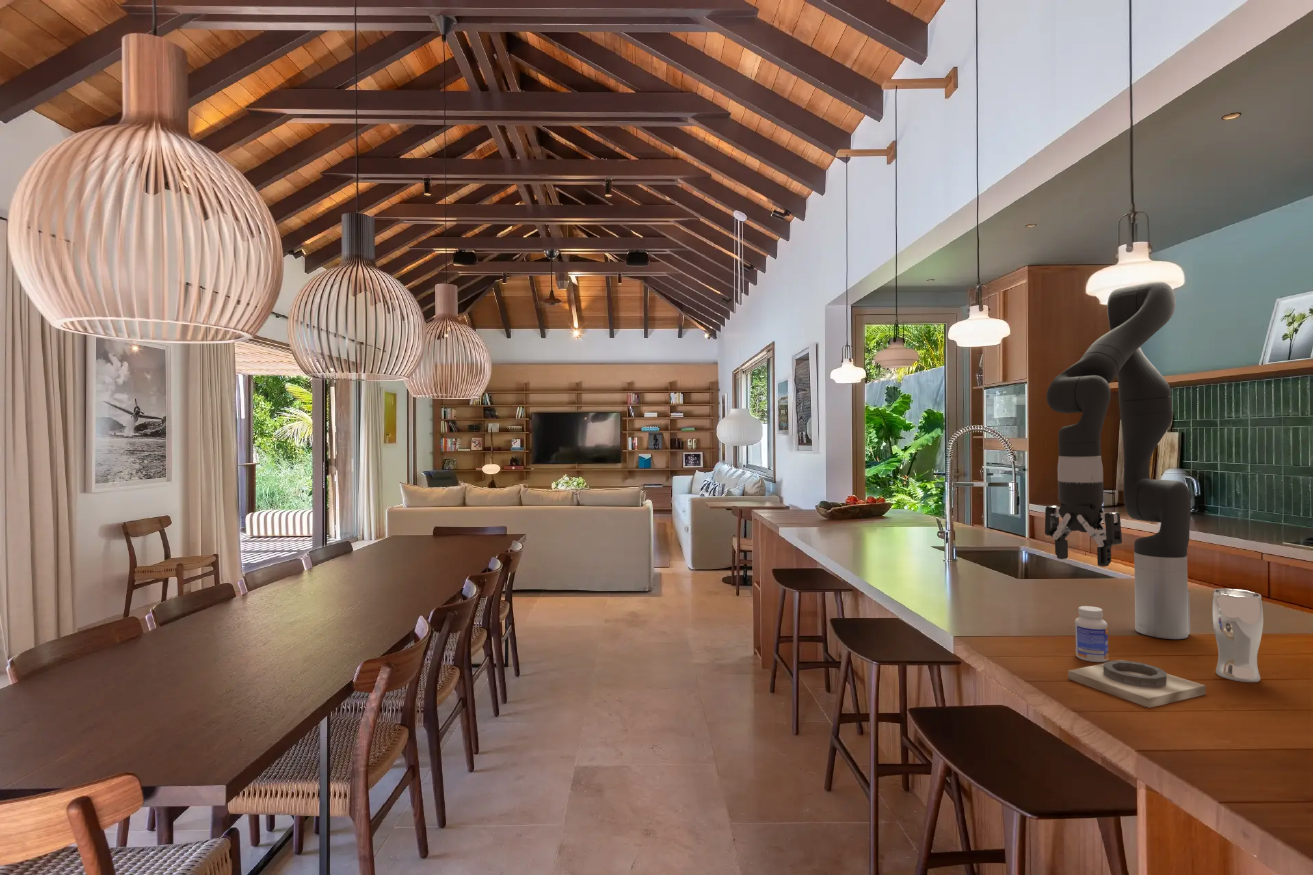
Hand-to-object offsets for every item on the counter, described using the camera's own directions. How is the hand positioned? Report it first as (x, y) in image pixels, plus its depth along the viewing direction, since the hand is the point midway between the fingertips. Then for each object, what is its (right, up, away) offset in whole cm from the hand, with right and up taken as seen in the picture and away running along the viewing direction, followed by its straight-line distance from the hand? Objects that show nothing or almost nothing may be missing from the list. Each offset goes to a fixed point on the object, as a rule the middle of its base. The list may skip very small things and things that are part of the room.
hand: (1082, 562), depth 133 cm
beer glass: (+21, -19, -11) cm, 30 cm away
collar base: (0, -19, -15) cm, 24 cm away
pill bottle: (+2, -19, 0) cm, 19 cm away
